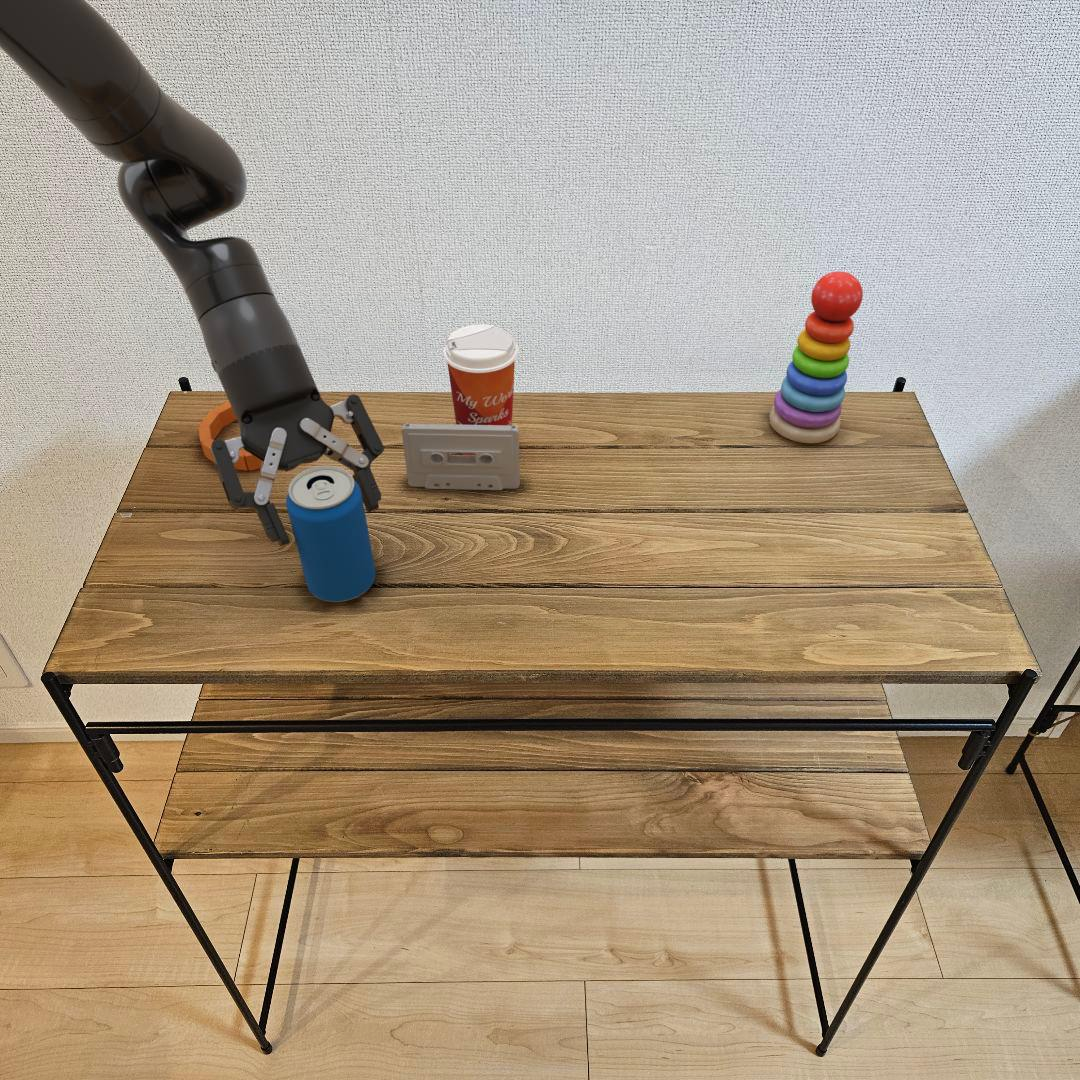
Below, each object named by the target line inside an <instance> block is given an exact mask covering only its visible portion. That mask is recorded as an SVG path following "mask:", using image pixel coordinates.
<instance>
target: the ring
mask: <svg viewBox="0 0 1080 1080" xmlns="http://www.w3.org/2000/svg"><path fill="white" fill-rule="evenodd" d="M236 421H237V418H236V416H235V414H234V411H233V409H232V407H231V404H230V402H229V400H228V401H226V402H225V403H223V404H221V405H218V406H216V407H215V408H213V409H211V410H210V411H209V412H208V413H207V415H205V417H204V418H203V420H201V422H200V424H199V425H198V427H197V429H198V436H199V442H200V445H201V448H202V449H201V450H202V451H203V455H204V456H205V458H207V459H208V460H209V461H212V463H214V461H213V458H212V455H211V452H210V450H211V445H212V442H213V441H214V440H216V437H217V436H218V435H219V434H220V432H221V431H222V430H223V428H224V427H227V426H229V425H230V424H232V423H234V422H236ZM262 462H263V461H262V460H260V459H259V458H257V457H255V456H254V455H252V454H251V453H249V452H247V451H246V450H245V449H241V450H240V451H239V459H238V462H237V463H236V464H234V467H235V470H236V471H245V472H246V471H249V472H251V471H256V470H260V469H261V465H262Z"/></svg>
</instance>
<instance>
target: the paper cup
mask: <svg viewBox="0 0 1080 1080" xmlns="http://www.w3.org/2000/svg"><path fill="white" fill-rule="evenodd" d="M519 352H520V348H519V345H518V343H517V342H516V339H515V338H514V337H513V336H512V335H511V334H510V333H509V332H508V331H507V330H505V329H504V328H501V327H499V326H497V325H493V324H484V323H483V324H481V323H477V324H470V325H466V326H463V327H460V328H458V329H456V330H455V331H453V332H452V333H451V334H450V335H449V336H448V338H447V340H446V345H445V346H444V347H443V351H442V355H443V359H444V361H445V362H446V364H447V370H448V377H449V385H450V392H451V397H452V405H453V411H454V419H455V425H507V426H513V412H514V411H513V409H514V408H513V407H514V388H515V364H516V359H517V358H518V356H519ZM460 455H475V453H460Z"/></svg>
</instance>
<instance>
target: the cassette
mask: <svg viewBox="0 0 1080 1080" xmlns="http://www.w3.org/2000/svg"><path fill="white" fill-rule="evenodd" d="M401 438H402V448H403V454H404V460H405V468H406V469H405V470H406V478H407V483H408V486H409V487H413V488H414V487H416V488H417V487H418V488H425V489H426V490H466V491H467V490H468V491H470V490H471V491H472V490H473V491H502V490H503V489H509V490H511V489H516V490H517V489H519V488H520V486H521V469H520V429H519V427H518V426H517V425H512V426H507V425H456V424H451V423H450V424H447V423H446V424H445V423H441V424H440V423H404V424H403V425H402V427H401ZM461 453H475V455H462V454H461Z"/></svg>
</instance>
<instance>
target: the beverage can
mask: <svg viewBox="0 0 1080 1080" xmlns="http://www.w3.org/2000/svg"><path fill="white" fill-rule="evenodd" d="M352 476H353V474H351V473H350V472H349V471H348V470H346V469H345V468H343V467H339V466H335V465H317V466H313V467H310V468H307V469H305V470H303V471H301V472H299V473H298V474H297V475H295V476H294V477H293V479H292V480H291V481H290V483H289V485H288V490H287V491H288V492H287V495H286V499H285V505H286V509H287V514H288V519H289V521H290V526H291V529H292V533H293V537H294V540H295V545H296V548H297V553H298V556H299V560H300V564H301V568H302V571H303V576H304V580H305V584H306V587H307V589H308V591H309V592H310V593H311V594H312V595H313V596H314V597H315V598H317V599H319V600H321V601H325V602H329V603H330V602H331V603H340V602H346V601H350V600H353V599H357V598H358V597H360V596H362V595H363V594H365V593H366V592H367V591H368V590H369V589H370V588H371V587H372V586H373V584H374V581H375V580H376V565H375V561H374V556H373V555H374V554H373V550H372V544H371V539H370V532H369V528H368V522H367V515H366V509H365V505H364V503H363V499H362V493H361V489H360V487H359V485H358V484H357V483H356V481H355V480H354V479H353V477H352Z"/></svg>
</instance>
